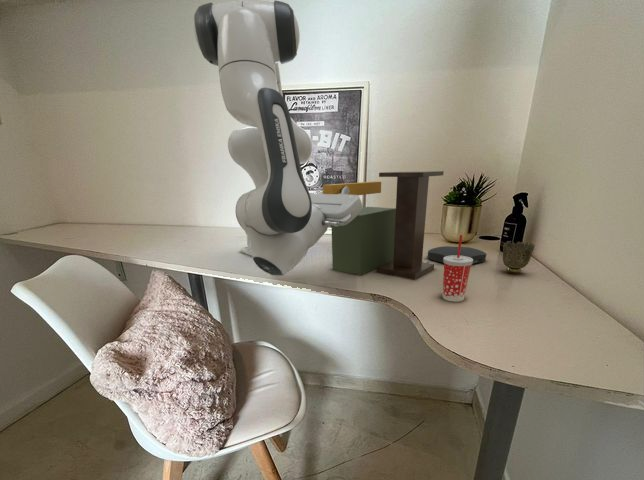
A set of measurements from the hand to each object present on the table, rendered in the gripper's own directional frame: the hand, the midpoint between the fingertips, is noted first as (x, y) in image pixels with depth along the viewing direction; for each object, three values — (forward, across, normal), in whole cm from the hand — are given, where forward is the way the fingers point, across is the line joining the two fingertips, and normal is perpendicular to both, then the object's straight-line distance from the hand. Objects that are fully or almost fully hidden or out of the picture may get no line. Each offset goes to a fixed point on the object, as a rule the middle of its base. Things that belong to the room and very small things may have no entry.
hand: (339, 188), depth 84 cm
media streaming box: (+18, -20, +36) cm, 45 cm away
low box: (-1, 0, +25) cm, 25 cm away
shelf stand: (0, -13, +26) cm, 29 cm away
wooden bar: (+4, 0, +5) cm, 7 cm away
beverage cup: (-11, -32, +20) cm, 39 cm away
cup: (+13, -38, +34) cm, 52 cm away
